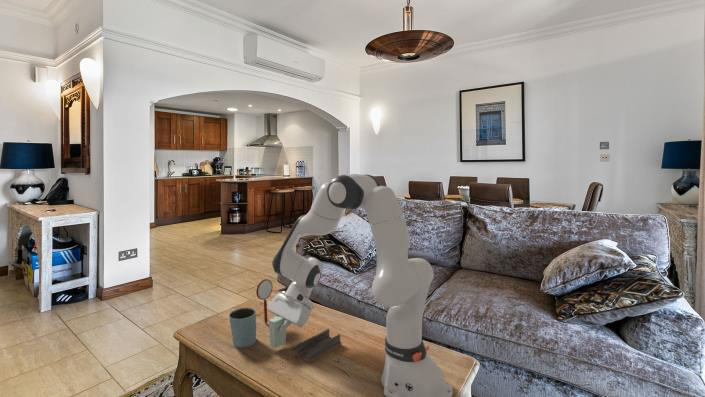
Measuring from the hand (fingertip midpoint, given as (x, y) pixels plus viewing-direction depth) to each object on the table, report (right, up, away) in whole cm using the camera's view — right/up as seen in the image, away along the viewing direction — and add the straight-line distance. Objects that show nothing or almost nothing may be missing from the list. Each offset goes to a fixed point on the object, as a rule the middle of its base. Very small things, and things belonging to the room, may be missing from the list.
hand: (276, 329), depth 131 cm
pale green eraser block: (+1, -6, +1) cm, 6 cm away
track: (+16, -8, +1) cm, 18 cm away
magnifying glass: (-9, -6, +21) cm, 23 cm away
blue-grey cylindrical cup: (-14, -8, +7) cm, 17 cm away
